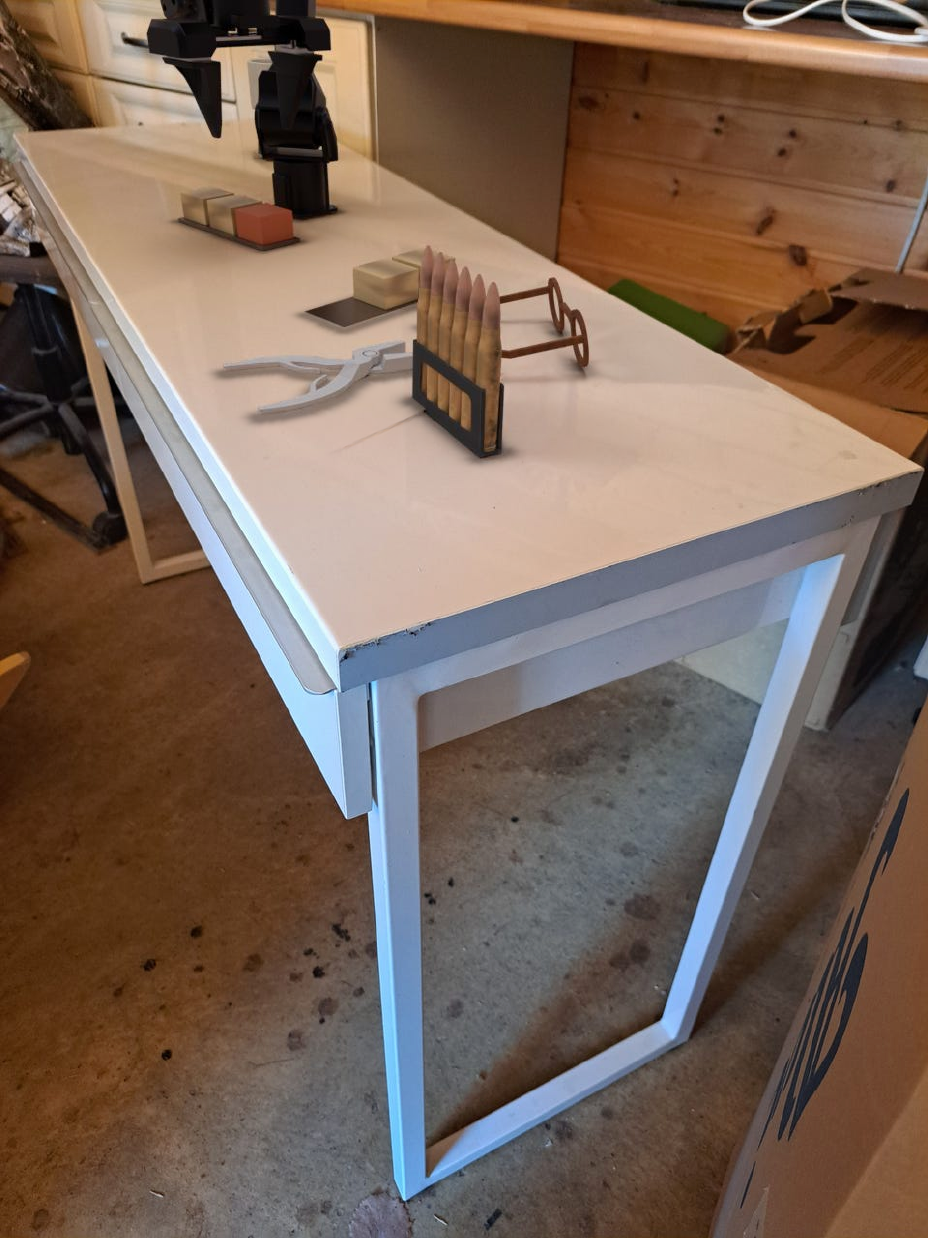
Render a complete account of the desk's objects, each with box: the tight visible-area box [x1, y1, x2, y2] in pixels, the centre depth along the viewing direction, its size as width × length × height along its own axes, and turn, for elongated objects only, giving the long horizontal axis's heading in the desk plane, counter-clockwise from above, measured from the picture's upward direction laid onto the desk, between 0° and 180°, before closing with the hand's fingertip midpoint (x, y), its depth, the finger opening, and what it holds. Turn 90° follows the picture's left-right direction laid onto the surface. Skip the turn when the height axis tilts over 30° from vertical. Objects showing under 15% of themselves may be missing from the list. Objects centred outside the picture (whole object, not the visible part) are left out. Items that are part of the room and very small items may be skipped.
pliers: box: [222, 339, 413, 415], centre depth 72 cm, size 10×2×15 cm
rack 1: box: [177, 185, 301, 252], centre depth 104 cm, size 16×6×3 cm, turn 49°
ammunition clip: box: [411, 244, 505, 459], centre depth 63 cm, size 11×2×12 cm, turn 30°
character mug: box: [246, 57, 272, 156], centre depth 134 cm, size 11×7×13 cm, turn 26°
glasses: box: [499, 276, 590, 368], centre depth 77 cm, size 13×13×5 cm
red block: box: [235, 202, 295, 245], centre depth 101 cm, size 5×5×3 cm
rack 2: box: [304, 247, 456, 328], centre depth 86 cm, size 16×6×3 cm, turn 139°
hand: (252, 133), depth 93 cm, fingers open, 9 cm apart
